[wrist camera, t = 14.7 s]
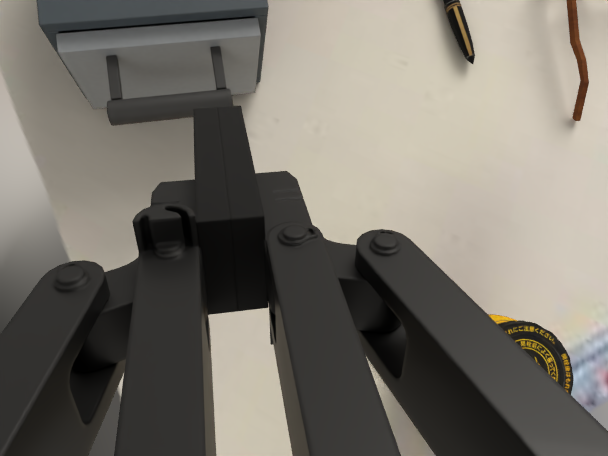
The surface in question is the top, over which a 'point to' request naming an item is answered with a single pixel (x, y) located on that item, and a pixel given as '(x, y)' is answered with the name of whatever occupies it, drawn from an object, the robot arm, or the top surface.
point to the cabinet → (143, 15)
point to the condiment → (540, 348)
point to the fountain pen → (460, 28)
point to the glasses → (579, 56)
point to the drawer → (163, 66)
